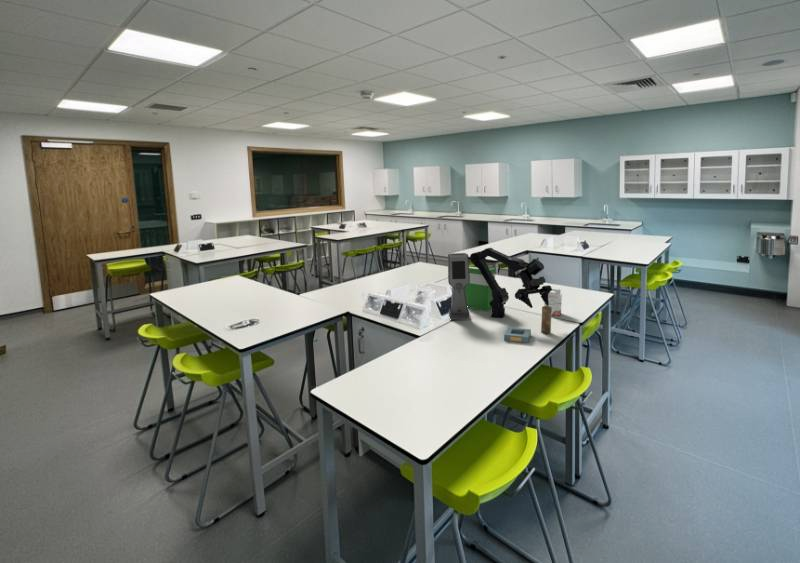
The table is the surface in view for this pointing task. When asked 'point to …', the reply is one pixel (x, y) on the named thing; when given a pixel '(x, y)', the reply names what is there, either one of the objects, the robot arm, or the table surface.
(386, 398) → the table surface
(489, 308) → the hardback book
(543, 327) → the walnut peg
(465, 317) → the thermal camera
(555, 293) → the ink cartridge box
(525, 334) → the socket block
